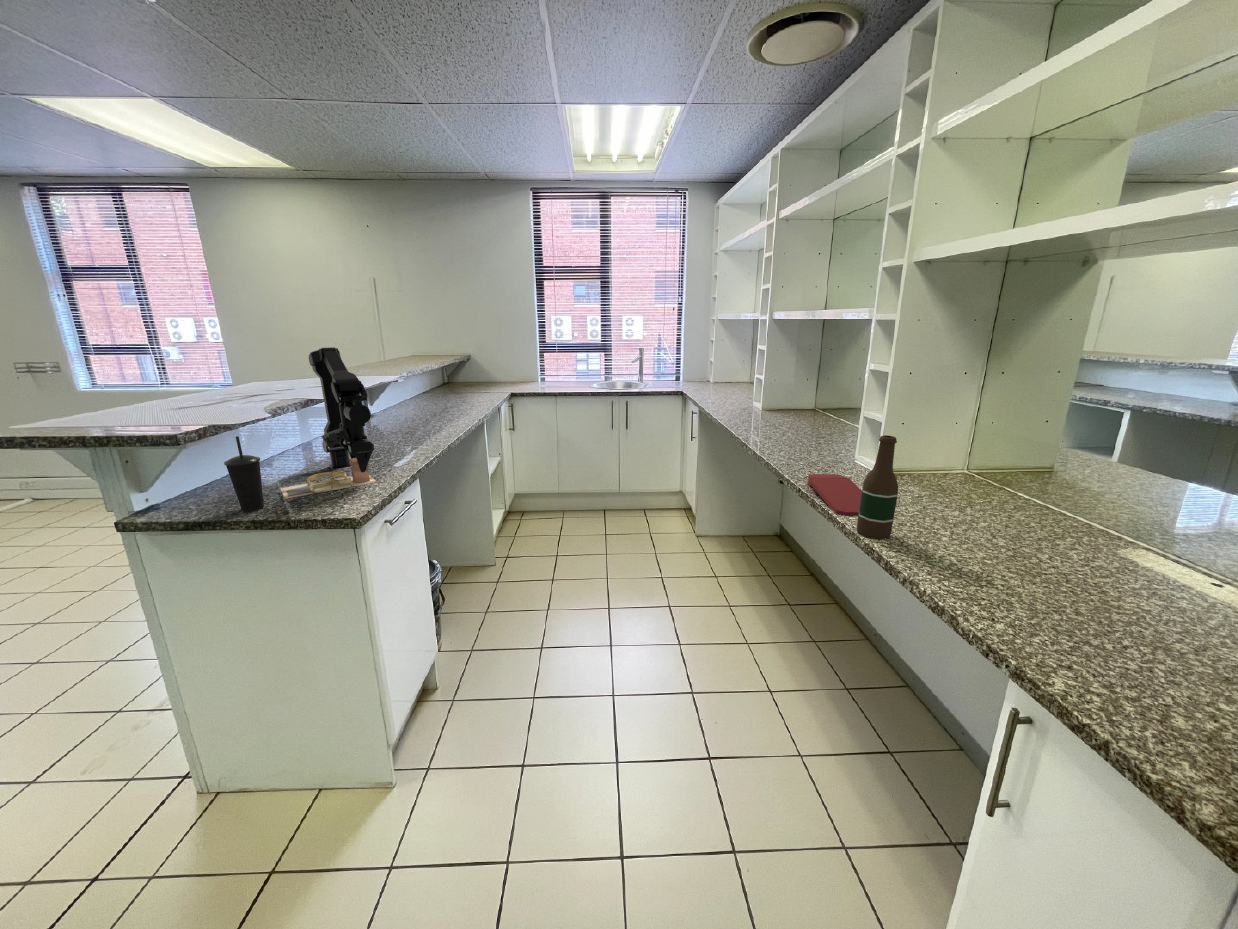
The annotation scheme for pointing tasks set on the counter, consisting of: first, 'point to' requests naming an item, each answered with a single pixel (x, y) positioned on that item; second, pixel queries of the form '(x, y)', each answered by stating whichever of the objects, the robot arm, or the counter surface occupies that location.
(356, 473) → the block
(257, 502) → the drinking cup
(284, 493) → the beige board
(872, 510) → the beer bottle
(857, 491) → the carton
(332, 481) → the bent wooden frame
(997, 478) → the counter surface
